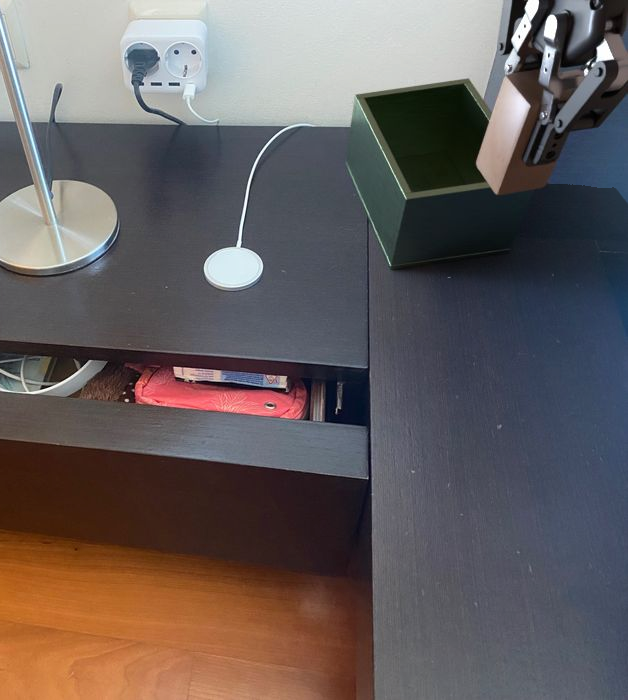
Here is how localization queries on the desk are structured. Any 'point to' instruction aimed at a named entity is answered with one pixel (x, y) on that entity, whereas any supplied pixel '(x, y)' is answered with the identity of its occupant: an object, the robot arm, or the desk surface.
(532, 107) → the wooden block
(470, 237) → the waste bin
